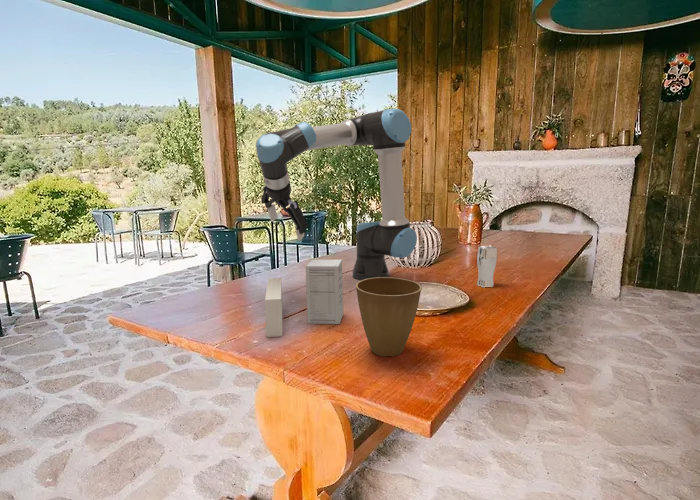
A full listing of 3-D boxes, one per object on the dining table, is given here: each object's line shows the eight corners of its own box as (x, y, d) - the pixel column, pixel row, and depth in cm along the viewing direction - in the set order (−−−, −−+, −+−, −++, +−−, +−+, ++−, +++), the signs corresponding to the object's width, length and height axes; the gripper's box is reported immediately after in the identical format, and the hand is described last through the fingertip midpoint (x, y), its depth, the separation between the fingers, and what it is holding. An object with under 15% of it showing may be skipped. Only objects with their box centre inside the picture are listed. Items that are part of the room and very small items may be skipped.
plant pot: (343, 354, 89) (343, 287, 86) (375, 333, 101) (376, 274, 98) (401, 371, 81) (403, 298, 78) (429, 346, 93) (431, 282, 90)
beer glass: (496, 284, 148) (498, 246, 146) (492, 289, 142) (495, 249, 140) (477, 282, 152) (480, 244, 149) (473, 286, 146) (475, 247, 143)
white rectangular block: (282, 308, 121) (281, 277, 119) (282, 336, 99) (281, 299, 98) (269, 309, 120) (268, 278, 118) (266, 337, 99) (265, 299, 97)
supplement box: (344, 313, 116) (343, 259, 113) (340, 324, 107) (339, 265, 104) (312, 312, 117) (311, 258, 114) (306, 323, 108) (305, 265, 105)
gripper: (241, 171, 121) (255, 217, 138) (297, 208, 111) (305, 252, 128) (259, 160, 125) (271, 206, 141) (315, 194, 114) (320, 239, 131)
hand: (287, 228), depth 134 cm, fingers open, 13 cm apart
